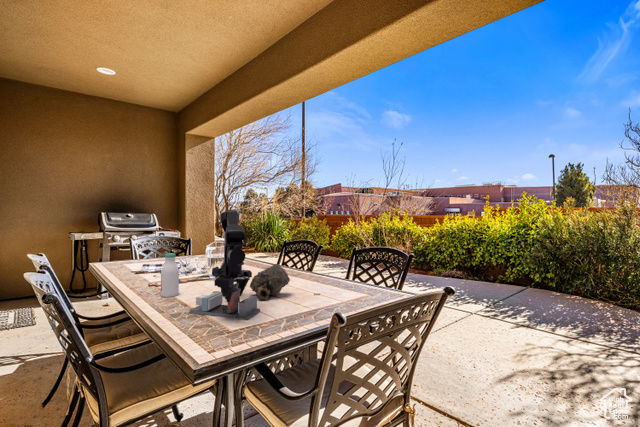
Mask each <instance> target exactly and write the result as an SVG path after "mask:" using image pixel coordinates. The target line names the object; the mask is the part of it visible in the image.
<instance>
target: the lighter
mask: <svg viewBox="0 0 640 427" xmlns="http://www.w3.org/2000/svg"><path fill="white" fill-rule="evenodd" d="M233 285H235V286H234V289H233V293H232V296H231V300H230V302H227V304H226V305H227V312H229V313H231V312H234V311H236V310H238V303H239V302H241V296H240V291H241V289H240V288H237V287H238V286H239V284H238V283H237V282H235V283H234V284H233Z"/></svg>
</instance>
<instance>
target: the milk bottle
mask: <svg viewBox="0 0 640 427" xmlns="http://www.w3.org/2000/svg"><path fill="white" fill-rule="evenodd" d="M162 265H163V266H162V267H161V270H160V272H161V273H160V296H161V297H163V298H172V297H177V296H178V295H179V292H180V291H179V289H180V288H179V287H180V286H179V284H180V283H179V282H180V276H179V275H180V274H179V273H180V272H179V267H178V264H177V262H176V253H175V252H174V253H173V252H170V253H169V252H168V253H165V254H164V263H163V264H162Z"/></svg>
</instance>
